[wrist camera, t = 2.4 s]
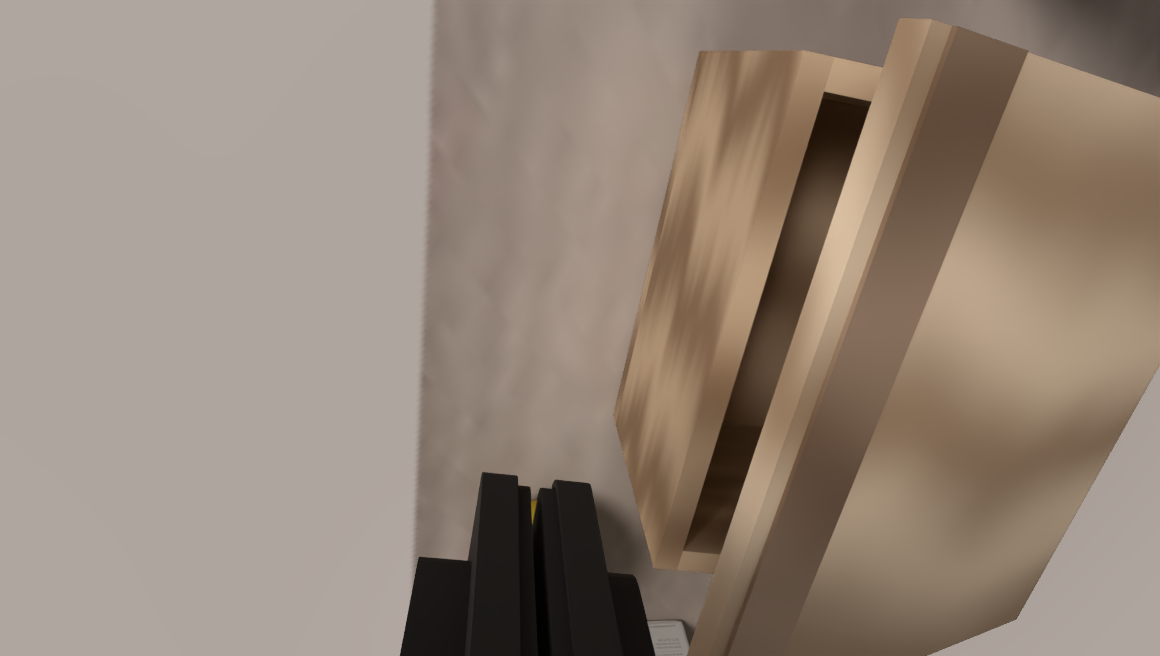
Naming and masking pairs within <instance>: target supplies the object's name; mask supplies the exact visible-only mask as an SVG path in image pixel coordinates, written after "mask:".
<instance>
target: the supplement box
mask: <svg viewBox="0 0 1160 656" xmlns="http://www.w3.org/2000/svg"><path fill="white" fill-rule="evenodd" d="M647 622H648V626H649V631H650V635H651V639H652V643H653V647H654V651H655V655H656V656H687V653H688V650H689V647H690V646H689V643H688V639H687V636H686V632H685V629H684V626H683V623H682V621H677V620H670V621H665V620H663V621H647Z"/></svg>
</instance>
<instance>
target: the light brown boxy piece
mask: <svg viewBox="0 0 1160 656" xmlns="http://www.w3.org/2000/svg"><path fill="white" fill-rule="evenodd" d="M882 69H883V68H882V67H877V66H872V65H868V64H863V63H859V62H854V61H850V60H845V59H841V58H836V57H832V56H827V55H822V54H818V53H813V52H809V51H804V50H803V51H700V52H699V56H698V60H697V64H696V69H695V73H694V77H693V81H692V86H691V90H690V94H689V98H688V102H687V107H686V111H685V115H684V119H683V124H682V128H681V132H680V136H679V140H678V145H677V149H676V153H675V157H674V162H673V166H672V170H671V174H670V178H669V183H668V187H667V191H666V195H665V199H664V204H663V208H662V212H661V216H660V221H659V225H658V229H657V233H656V237H655V242H654V246H653V250H652V254H651V259H650V263H649V267H648V271H647V275H646V280H645V284H644V288H643V292H642V297H641V301H640V305H639V309H638V313H637V318H636V322H635V326H634V330H633V334H632V339H631V343H630V347H629V351H628V356H627V360H626V364H625V368H624V372H623V377H622V381H621V385H620V389H619V394H618V398H617V402H616V406H615V410H614V415H613V416H614V419H615V423H616V427H617V431H618V435H619V438H620V442H621V446H622V450H623V454H624V457H625V461H626V465H627V469H628V472H629V476H630V480H631V484H632V488H633V491H634V495H635V499H636V503H637V507H638V510H639V514H640V518H641V522H642V525H643V529H644V533H645V537H646V541H647V544H648V548H649V552H650V556H651V560H652V563H653V567H654V568H658V569H670V570H681V571H692V572H703V573H714V572H715V569H716V566H717V563H718V560H719V557H720V554H721V551H722V548H723V545H724V542H725V539H726V536H727V533H728V530H729V527H730V524H731V521H732V518H733V515H734V512H735V509H736V506H737V503H738V500H739V497H740V494H741V491H742V488H743V485H744V482H745V479H746V476H747V473H748V470H749V467H750V464H751V461H752V458H753V455H754V452H755V449H756V446H757V444H758V441H759V438H760V435H761V432H762V429H763V426H764V423H765V420H766V417H767V414H768V411H769V408H770V405H771V402H772V399H773V396H774V393H775V390H776V387H777V384H778V381H779V378H780V375H781V372H782V369H783V366H784V363H785V360H786V357H787V354H788V351H789V348H790V345H791V342H792V339H793V336H794V333H795V330H796V327H797V324H798V321H799V318H800V315H801V312H802V309H803V306H804V303H805V300H806V297H807V294H808V291H809V288H810V285H811V282H812V279H813V276H814V273H815V270H816V267H817V264H818V261H819V258H820V255H821V252H822V249H823V246H824V243H825V240H826V237H827V234H828V231H829V228H830V225H831V222H832V219H833V216H834V213H835V210H836V207H837V204H838V201H839V198H840V195H841V192H842V189H843V186H844V183H845V180H846V177H847V174H848V171H849V168H850V165H851V162H852V159H853V156H854V153H855V150H856V147H857V144H858V141H859V138H860V135H861V132H862V129H863V126H864V123H865V120H866V117H867V114H868V111H869V108H870V105H871V102H872V99H873V96H874V93H875V90H876V87H877V84H878V81H879V78H880V75H881V72H882Z"/></svg>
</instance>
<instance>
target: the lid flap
mask: <svg viewBox="0 0 1160 656" xmlns="http://www.w3.org/2000/svg"><path fill="white" fill-rule="evenodd" d="M1159 365H1160V98H1159V97H1156V96H1153V95H1150V94H1147V93H1145V92H1142V91H1139V90H1136V89H1133V88H1130V87H1127V86H1124V85H1121V84H1118V83H1116V82H1113V81H1110V80H1107V79H1104V78H1101V77H1098V76H1095V75H1092V74H1089V73H1087V72H1084V71H1081V70H1078V69H1075V68H1072V67H1069V66H1066V65H1063V64H1060V63H1058V62H1055V61H1052V60H1049V59H1046V58H1043V57H1040V56H1037V55H1034V54H1031V53H1029V52H1028V51H1027V50H1024V49H1021V48H1019V47H1016V46H1013V45H1010V44H1007V43H1004V42H1001V41H998V40H996V39H993V38H990V37H987V36H984V35H981V34H978V33H975V32H972V31H970V30H967V29H964V28H961V27H958V26H950V25H947V24H944V23H942V22H939V21H936V20H933V19H912V18H899V21H898V24H897V27H896V30H895V33H894V36H893V39H892V42H891V45H890V48H889V51H888V54H887V57H886V60H885V63H884V66H883V69H882V72H881V75H880V78H879V81H878V84H877V87H876V90H875V93H874V96H873V99H872V102H871V105H870V108H869V111H868V114H867V117H866V120H865V123H864V126H863V129H862V132H861V135H860V138H859V141H858V144H857V147H856V150H855V153H854V156H853V159H852V162H851V165H850V168H849V171H848V174H847V177H846V180H845V183H844V186H843V189H842V192H841V195H840V198H839V201H838V204H837V207H836V210H835V213H834V216H833V219H832V222H831V225H830V228H829V231H828V234H827V237H826V240H825V243H824V246H823V249H822V252H821V255H820V258H819V261H818V264H817V267H816V270H815V273H814V276H813V279H812V282H811V285H810V288H809V291H808V294H807V297H806V300H805V303H804V306H803V309H802V312H801V315H800V318H799V321H798V324H797V327H796V330H795V333H794V336H793V339H792V342H791V345H790V348H789V351H788V354H787V357H786V360H785V363H784V366H783V369H782V372H781V375H780V378H779V381H778V384H777V387H776V390H775V393H774V396H773V399H772V402H771V405H770V408H769V411H768V414H767V417H766V420H765V423H764V426H763V429H762V432H761V435H760V438H759V441H758V444H757V446H756V449H755V452H754V455H753V458H752V461H751V464H750V467H749V470H748V473H747V476H746V479H745V482H744V485H743V488H742V491H741V494H740V497H739V500H738V503H737V506H736V509H735V512H734V515H733V518H732V521H731V524H730V527H729V530H728V533H727V536H726V539H725V542H724V545H723V548H722V551H721V554H720V557H719V560H718V563H717V566H716V569H715V572H714V575H713V578H712V581H711V584H710V587H709V590H708V593H707V596H706V599H705V602H704V605H703V608H702V611H701V614H700V617H699V620H698V623H697V626H696V629H695V632H694V635H693V638H692V641H691V644H690V647H689V650H688V653H687V656H927V655H929V654H932V653H934V652H937V651H939V650H942V649H944V648H947V647H949V646H952V645H954V644H957V643H959V642H962V641H964V640H967V639H969V638H972V637H974V636H976V635H979V634H981V633H984V632H986V631H989V630H991V629H994V628H996V627H999V626H1001V625H1003V624H1006V623H1009V622H1011V621H1013V620H1016V619H1017V617H1018V616H1019V614H1020V612H1021V610H1022V608H1023V606H1024V605H1025V603H1026V601H1027V600H1028V598H1029V596H1030V594H1031V592H1032V591H1033V589H1034V587H1035V585H1036V584H1037V582H1038V580H1039V578H1040V577H1041V575H1042V573H1043V571H1044V569H1045V568H1046V566H1047V564H1048V562H1049V560H1050V559H1051V557H1052V555H1053V553H1054V552H1055V550H1056V548H1057V546H1058V545H1059V543H1060V541H1061V539H1062V537H1063V536H1064V534H1065V532H1066V530H1067V529H1068V527H1069V525H1070V523H1071V522H1072V520H1073V518H1074V516H1075V514H1076V513H1077V511H1078V509H1079V507H1080V505H1081V504H1082V502H1083V500H1084V498H1085V497H1086V495H1087V493H1088V491H1089V490H1090V488H1091V486H1092V484H1093V482H1094V481H1095V479H1096V477H1097V475H1098V474H1099V472H1100V470H1101V468H1102V467H1103V465H1104V463H1105V461H1106V459H1107V458H1108V456H1109V454H1110V452H1111V451H1112V449H1113V447H1114V445H1115V443H1116V442H1117V440H1118V438H1119V436H1120V435H1121V433H1122V431H1123V429H1124V428H1125V426H1126V424H1127V422H1128V420H1129V419H1130V417H1131V415H1132V413H1133V412H1134V410H1135V408H1136V406H1137V405H1138V403H1139V401H1140V399H1141V397H1142V395H1143V394H1144V392H1145V390H1146V389H1147V387H1148V385H1149V383H1150V381H1151V379H1152V378H1153V376H1154V374H1155V373H1156V371H1157V369H1158V367H1159Z"/></svg>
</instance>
